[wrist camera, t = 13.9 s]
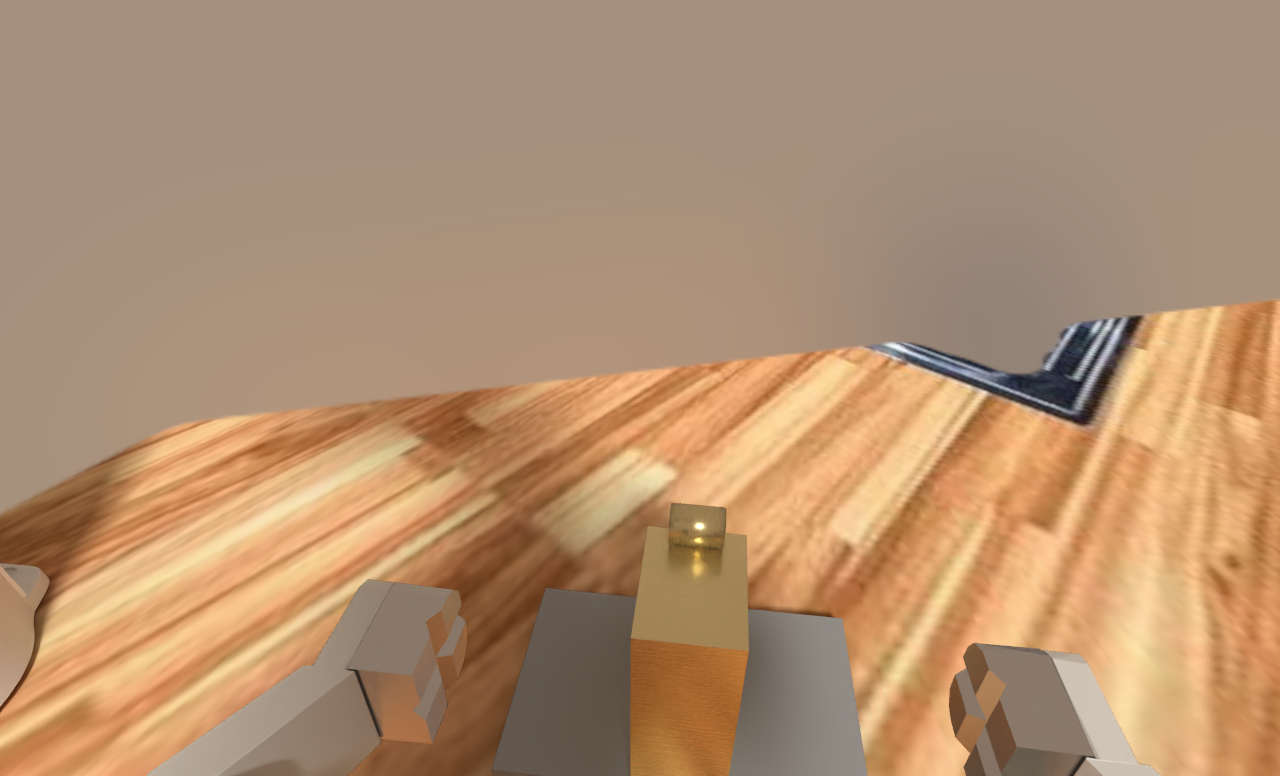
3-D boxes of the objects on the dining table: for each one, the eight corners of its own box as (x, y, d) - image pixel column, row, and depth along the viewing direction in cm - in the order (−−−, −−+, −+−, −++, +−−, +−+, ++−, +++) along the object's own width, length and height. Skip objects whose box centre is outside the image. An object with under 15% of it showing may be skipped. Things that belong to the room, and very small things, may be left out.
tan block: (630, 783, 32) (630, 607, 24) (645, 664, 37) (648, 492, 30) (725, 795, 31) (753, 620, 24) (726, 674, 36) (750, 501, 29)
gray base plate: (494, 781, 33) (467, 657, 27) (546, 600, 42) (534, 480, 36) (869, 831, 31) (921, 709, 26) (838, 631, 40) (872, 510, 35)
